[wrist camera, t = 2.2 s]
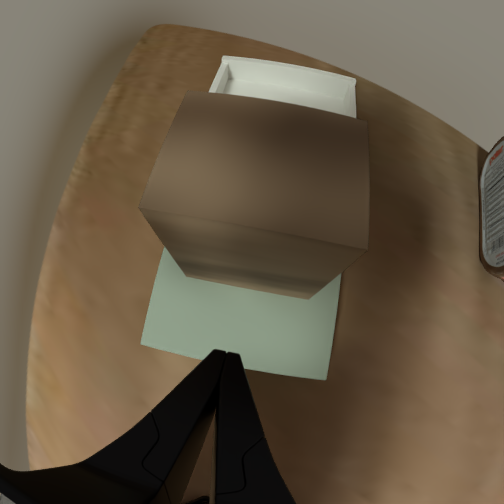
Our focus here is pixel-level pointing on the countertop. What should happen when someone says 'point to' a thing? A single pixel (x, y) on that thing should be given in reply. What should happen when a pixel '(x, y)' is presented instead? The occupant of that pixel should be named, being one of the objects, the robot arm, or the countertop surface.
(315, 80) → the cream tray
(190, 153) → the walnut push block
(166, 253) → the sage board
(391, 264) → the countertop surface
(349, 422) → the countertop surface
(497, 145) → the tin
